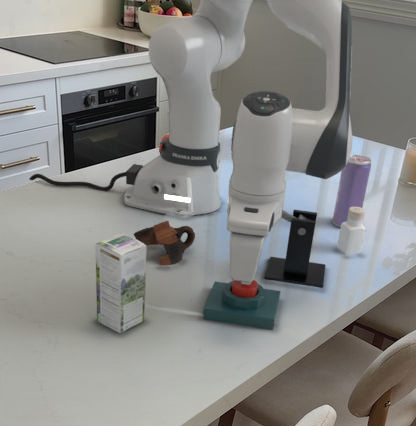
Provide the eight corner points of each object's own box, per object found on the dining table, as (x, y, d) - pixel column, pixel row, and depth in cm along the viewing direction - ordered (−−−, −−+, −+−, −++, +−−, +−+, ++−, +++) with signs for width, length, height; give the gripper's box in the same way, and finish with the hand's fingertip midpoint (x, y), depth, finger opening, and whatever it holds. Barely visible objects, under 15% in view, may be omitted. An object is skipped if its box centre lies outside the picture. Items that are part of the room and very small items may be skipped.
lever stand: (264, 282, 126) (272, 221, 119) (269, 261, 134) (277, 203, 126) (322, 291, 125) (333, 229, 118) (324, 269, 132) (335, 210, 125)
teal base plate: (203, 319, 114) (204, 298, 112) (213, 291, 122) (215, 272, 120) (272, 330, 113) (275, 309, 110) (278, 301, 121) (281, 282, 118)
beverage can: (358, 231, 149) (372, 164, 140) (331, 227, 150) (343, 161, 141) (358, 221, 154) (372, 156, 145) (332, 217, 154) (344, 152, 146)
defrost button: (229, 296, 114) (230, 287, 113) (233, 284, 117) (234, 275, 116) (255, 300, 113) (256, 291, 112) (258, 288, 117) (259, 279, 116)
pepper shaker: (335, 249, 140) (343, 206, 135) (351, 247, 142) (360, 204, 136) (344, 257, 137) (353, 214, 132) (361, 255, 139) (371, 212, 133)
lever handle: (241, 205, 122) (250, 189, 120) (244, 199, 124) (253, 183, 122) (304, 239, 123) (313, 224, 121) (305, 232, 126) (315, 217, 124)
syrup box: (121, 309, 115) (120, 231, 106) (145, 322, 112) (147, 242, 104) (96, 321, 111) (93, 241, 103) (121, 335, 108) (120, 254, 100)
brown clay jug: (149, 275, 127) (133, 233, 125) (140, 274, 136) (125, 235, 134) (206, 253, 129) (192, 211, 127) (194, 253, 138) (180, 214, 136)
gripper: (244, 179, 115) (237, 252, 123) (225, 225, 98) (218, 306, 106) (281, 183, 114) (271, 257, 122) (267, 231, 97) (258, 312, 106)
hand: (247, 280), depth 114 cm, fingers closed
